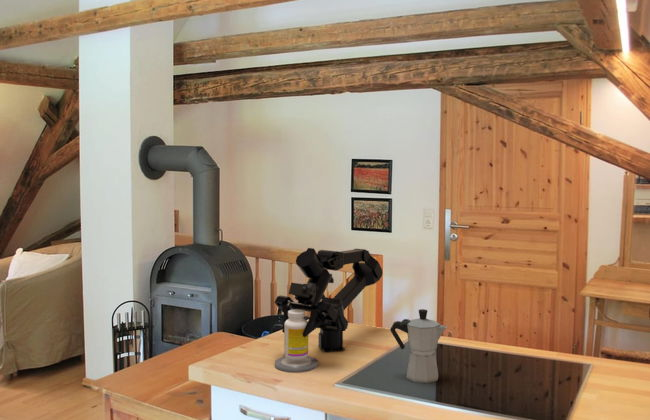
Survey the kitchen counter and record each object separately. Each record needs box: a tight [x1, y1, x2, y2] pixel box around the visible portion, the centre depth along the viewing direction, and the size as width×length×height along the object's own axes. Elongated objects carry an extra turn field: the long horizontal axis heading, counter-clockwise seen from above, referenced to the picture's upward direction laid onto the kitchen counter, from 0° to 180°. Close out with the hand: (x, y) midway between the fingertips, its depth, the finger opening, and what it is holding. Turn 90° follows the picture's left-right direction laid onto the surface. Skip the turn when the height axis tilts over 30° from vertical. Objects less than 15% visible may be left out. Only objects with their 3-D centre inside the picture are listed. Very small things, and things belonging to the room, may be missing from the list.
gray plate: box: [274, 355, 319, 373], centre depth 172 cm, size 12×12×1 cm
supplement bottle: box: [283, 309, 309, 360], centre depth 171 cm, size 7×7×13 cm
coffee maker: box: [389, 308, 448, 384], centre depth 162 cm, size 15×9×18 cm, turn 75°
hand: (293, 334), depth 170 cm, fingers closed on supplement bottle, 7 cm apart
